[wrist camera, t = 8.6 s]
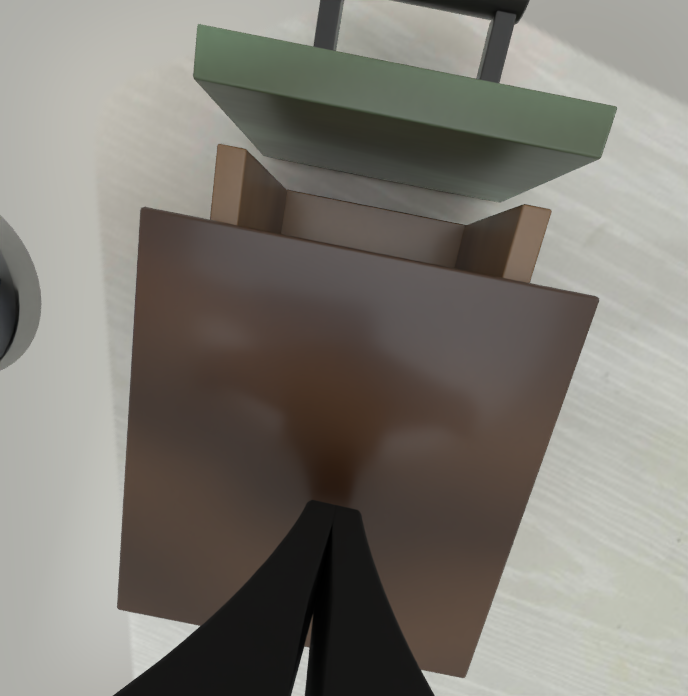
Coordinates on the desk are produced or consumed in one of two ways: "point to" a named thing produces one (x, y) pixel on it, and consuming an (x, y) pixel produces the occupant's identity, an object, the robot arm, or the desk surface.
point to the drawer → (394, 140)
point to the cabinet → (334, 419)
